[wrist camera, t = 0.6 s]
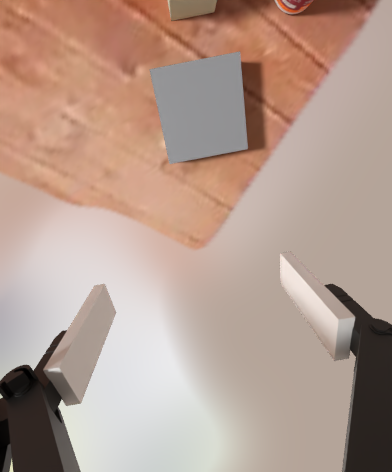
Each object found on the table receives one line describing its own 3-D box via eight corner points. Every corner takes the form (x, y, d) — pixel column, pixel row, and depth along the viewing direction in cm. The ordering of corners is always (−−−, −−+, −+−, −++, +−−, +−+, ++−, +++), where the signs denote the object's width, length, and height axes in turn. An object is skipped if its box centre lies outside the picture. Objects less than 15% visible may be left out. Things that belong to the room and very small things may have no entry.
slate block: (153, 78, 33) (149, 69, 29) (233, 62, 33) (240, 51, 29) (170, 162, 37) (169, 163, 34) (241, 148, 37) (247, 149, 34)
